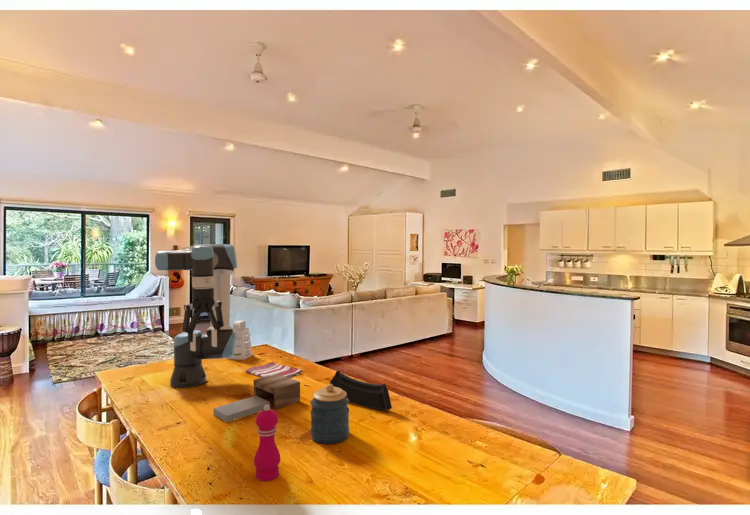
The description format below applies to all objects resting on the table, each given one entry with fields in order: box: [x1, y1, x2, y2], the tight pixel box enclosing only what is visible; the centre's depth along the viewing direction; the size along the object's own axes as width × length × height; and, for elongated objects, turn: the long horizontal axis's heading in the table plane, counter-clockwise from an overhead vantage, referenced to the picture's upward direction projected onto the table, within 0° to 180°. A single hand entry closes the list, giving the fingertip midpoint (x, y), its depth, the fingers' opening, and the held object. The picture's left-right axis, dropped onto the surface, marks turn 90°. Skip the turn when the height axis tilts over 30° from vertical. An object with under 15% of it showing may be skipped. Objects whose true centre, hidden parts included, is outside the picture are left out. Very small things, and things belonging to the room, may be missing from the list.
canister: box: [310, 383, 350, 445], centre depth 143 cm, size 13×13×18 cm
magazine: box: [329, 370, 393, 411], centre depth 171 cm, size 17×3×30 cm
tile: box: [213, 395, 271, 423], centre depth 163 cm, size 10×18×3 cm, turn 137°
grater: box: [225, 320, 254, 361], centre depth 239 cm, size 10×10×20 cm
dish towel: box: [245, 361, 303, 378], centre depth 211 cm, size 17×23×3 cm
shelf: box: [253, 374, 301, 410], centre depth 175 cm, size 16×12×8 cm
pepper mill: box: [253, 405, 281, 482], centre depth 119 cm, size 7×7×20 cm
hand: (203, 348), depth 159 cm, fingers open, 8 cm apart
